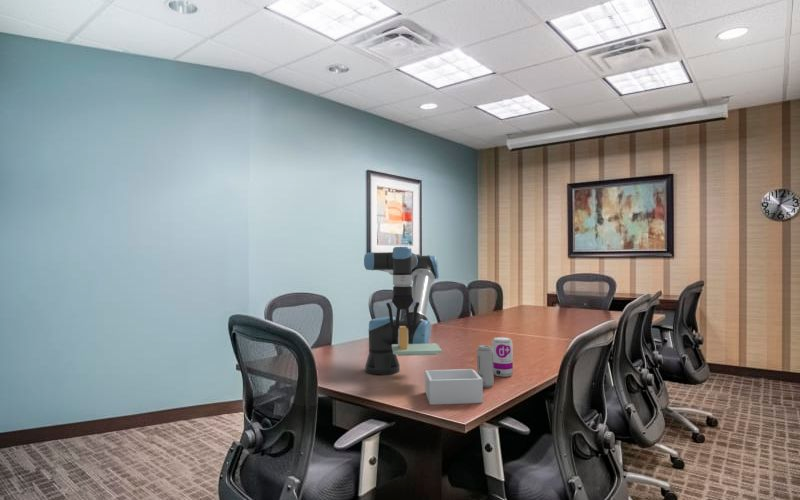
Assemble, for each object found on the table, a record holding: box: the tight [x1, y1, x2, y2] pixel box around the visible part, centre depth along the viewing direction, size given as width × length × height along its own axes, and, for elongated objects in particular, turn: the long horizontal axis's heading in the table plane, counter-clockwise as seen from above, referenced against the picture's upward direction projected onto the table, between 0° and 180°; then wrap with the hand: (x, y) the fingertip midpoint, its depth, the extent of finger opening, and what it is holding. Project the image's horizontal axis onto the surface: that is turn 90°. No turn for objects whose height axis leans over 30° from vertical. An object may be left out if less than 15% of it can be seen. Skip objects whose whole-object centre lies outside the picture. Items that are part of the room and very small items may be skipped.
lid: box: [392, 326, 443, 357], centre depth 179 cm, size 19×15×10 cm
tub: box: [424, 368, 484, 405], centre depth 160 cm, size 18×14×8 cm
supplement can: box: [491, 336, 514, 378], centre depth 189 cm, size 8×8×15 cm
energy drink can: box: [476, 344, 495, 388], centre depth 174 cm, size 6×6×15 cm
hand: (403, 345), depth 179 cm, fingers closed on lid, 2 cm apart
